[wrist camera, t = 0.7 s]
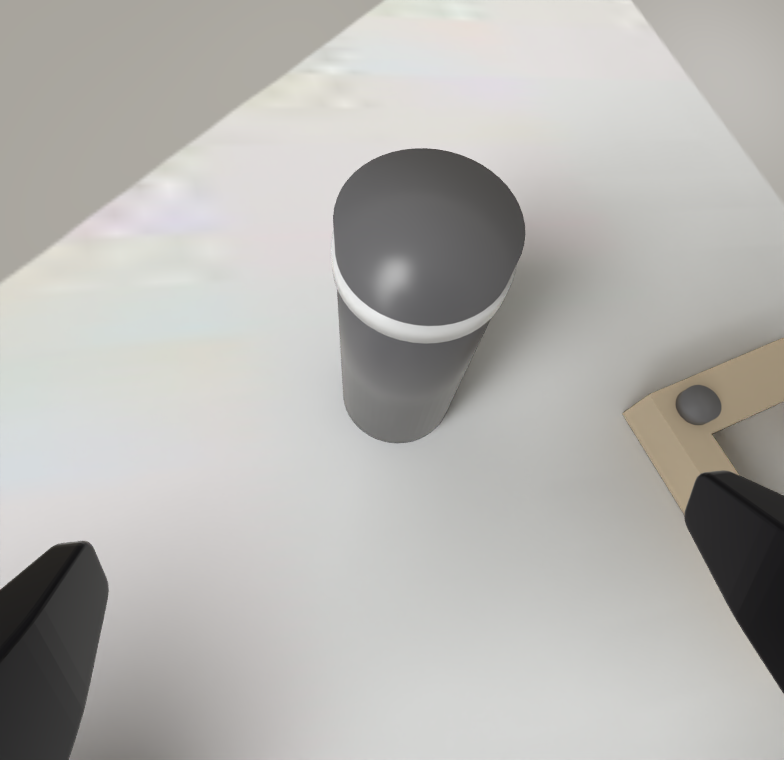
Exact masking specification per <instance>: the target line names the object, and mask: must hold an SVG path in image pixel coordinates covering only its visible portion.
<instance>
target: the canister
mask: <svg viewBox="0 0 784 760" xmlns="http://www.w3.org/2000/svg"><path fill="white" fill-rule="evenodd" d="M333 225H334V230H333V233H332V241H331V255H332V270H333V276H334V281H335V284H336V287H337V296H338V313H339V330H340V348H341V365H342V383H343V398H344V404H345V407H346V410H347V412H348V414H349V416H350V417H351V419H352V420H353V422H354V423H355V424H356V425H357V426H358V427H359V428H360V429H361V430H362V431H363V432H365V433H366V434H368V435H369V436H371V437H373V438H375V439H378V440H381V441H384V442H389V443H406V442H411V441H415V440H418V439H420V438H422V437H424V436H426V435H427V434H429V433H430V432H432V431H433V430H434V429H435V428H436V427H437V426H438V425H439V424H440V422H441V421H442V419H443V418H444V416H445V414H446V412H447V410H448V407H449V405H450V403H451V401H452V399H453V397H454V395H455V393H456V391H457V389H458V386H459V384H460V382H461V380H462V378H463V376H464V374H465V372H466V370H467V367H468V365H469V363H470V361H471V359H472V357H473V355H474V353H475V351H476V349H477V346H478V344H479V342H480V340H481V338H482V336H483V334H484V332H485V330H486V328H487V325H488V323H489V321H490V319H491V318H492V316H493V315H494V314H495V313H496V312H497V310H498V309H499V307H500V306H501V304H502V302H503V300H504V298H505V296H506V294H507V292H508V290H509V288H510V286H511V283H512V281H513V279H514V275H515V271H516V265H517V262H518V260H519V258H520V256H521V254H522V250H523V246H524V240H525V223H524V219H523V214H522V211H521V209H520V206H519V204H518V202H517V200H516V198H515V196H514V195H513V193H512V192H511V191H510V189H509V188H508V186H507V185H506V184H505V183H504V182H503V181H502V180H501V179H500V178H499V177H498V176H496V175H495V174H494V173H493V172H492V171H490V170H489V169H487V168H486V167H484V166H483V165H481V164H479V163H477V162H476V161H474V160H472V159H469V158H467V157H464V156H462V155H459V154H456V153H452V152H448V151H443V150H438V149H427V148H423V149H406V150H400V151H395V152H391V153H388V154H385V155H382V156H380V157H378V158H376V159H373V160H371V161H370V162H368V163H367V164H365V165H363V166H362V167H361V168H359V169H358V170H357V171H356V172H355V173H354V174H353V175H352V176H351V177H350V178H349V179H348V180H347V182H346V183H345V184H344V186H343V187H342V189H341V191H340V193H339V195H338V197H337V200H336V204H335V207H334V215H333Z"/></svg>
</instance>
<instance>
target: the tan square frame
mask: <svg viewBox="0 0 784 760" xmlns="http://www.w3.org/2000/svg"><path fill="white" fill-rule="evenodd" d="M783 401H784V338H781V339H779V340H777V341H774V342H772V343H769V344H767V345H765V346H762V347H760V348H758V349H755V350H753V351H751V352H748V353H746V354H743V355H741V356H739V357H736V358H734V359H732V360H729V361H727V362H725V363H722V364H720V365H717V366H715V367H713V368H710V369H708V370H706V371H703V372H701V373H698V374H696V375H694V376H691V377H689V378H687V379H684V380H682V381H680V382H677V383H675V384H672V385H670V386H668V387H665V388H663V389H661V390H658V391H656V392H653V393H651V394H649V395H648V396H646V397H645V398H643V399H642V400H641V401H639V402H638V403H636V404H635V405H634V406H632V407H631V408H629V409H628V410H626V411H625V412H624V413H622V414H623V416H624V417H625V419H626V421H627V422H628V424H629V425H630V427H631V429H632V430H633V432H634V434H635V435H636V437H637V438H638V440H639V442H640V443H641V445H642V447H643V448H644V450H645V452H646V453H647V455H648V456H649V458H650V460H651V461H652V463H653V465H654V466H655V468H656V469H657V471H658V473H659V474H660V476H661V478H662V479H663V481H664V482H665V484H666V486H667V487H668V489H669V491H670V492H671V494H672V496H673V497H674V499H675V500H676V502H677V504H678V505H679V507H680V509H681V510H682V512H683V513H684V515H685V509H686V506H687V503H688V500H689V497H690V494H691V491H692V488H693V485H694V483H695V480H696V478H697V477H698V476H699V475H700V474H701V473H704V472H712V471H721V470H725V471H730V472H733V473H735V474H737V475H739V474H738V472H737V471H736V469H735V468H734V466H733V465H732V463H731V462H730V460H729V459H728V458H727V456H726V455H725V453H724V452H723V450H722V449H721V447H720V446H719V444H718V443H717V441H716V440H715V438H714V437H713V435H712V434H713V433H715V432H718V431H720V430H722V429H724V428H726V427H729V426H731V425H733V424H735V423H737V422H740V421H742V420H744V419H746V418H748V417H751V416H753V415H755V414H757V413H759V412H761V411H764V410H766V409H768V408H770V407H772V406H775V405H777V404H779V403H781V402H783ZM739 476H740V475H739Z"/></svg>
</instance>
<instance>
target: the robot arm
mask: <svg viewBox="0 0 784 760" xmlns="http://www.w3.org/2000/svg"><path fill="white" fill-rule="evenodd" d="M685 522H686V525H687V528H688V530H689V532H690V534H691V536H692V538H693V540H694V542H695V543H696V545H697V547H698V549H699V551H700V553H701V555H702V557H703V559H704V561H705V563H706V564H707V566H708V568H709V570H710V572H711V574H712V576H713V578H714V580H715V582H716V584H717V585H718V587H719V589H720V591H721V593H722V595H723V597H724V599H725V601H726V603H727V604H728V606H729V608H730V610H731V612H732V613H733V615H734V617H735V619H736V620H737V622H738V624H739V625H740V627H741V628H742V630H743V632H744V633H745V635H746V636H747V638H748V639H749V641H750V643H751V644H752V646H753V647H754V649H755V650H756V652H757V653H758V655H759V656H760V658H761V660H762V661H763V663H764V664H765V666H766V667H767V669H768V670H769V672H770V673H771V675H772V677H773V678H774V680H775V681H776V683H777V684H778V686H779V687H780V689H781V690H782V692H783V694H784V496H783V495H781V494H779V493H777V492H774V491H772V490H770V489H768V488H766V487H763V486H761V485H759V484H757V483H755V482H752V481H750V480H748V479H746V478H744V477H742V476H739V475H737V474H735V473H733V472H730V471H725V470H721V471H712V472H704V473H701V474H700V475H699V476H698V477H697V478H696V480H695V483H694V485H693V488H692V491H691V494H690V497H689V500H688V503H687V506H686V509H685ZM108 591H109V590H108V581H107V578H106V576H105V573H104V571H103V569H102V566H101V564H100V562H99V559H98V557H97V555H96V552H95V550H94V548H93V546H92V545H91V544H90V543H89V542H87V541H78V542H69V543H60V544H57V545H55V546H53V547H51V548H50V549H49V550H47V551H46V552H45V553H44V554H43V555H41V556H40V557H39V558H38V559H37V560H35V561H34V562H33V563H32V564H31V565H29V566H28V567H27V568H26V569H25V570H23V571H22V572H21V573H20V574H19V575H17V576H16V577H15V578H14V579H13V580H11V581H10V582H9V583H8V584H7V585H5V586H4V587H3V588H2V589H1V590H0V760H69V757H70V754H71V751H72V748H73V745H74V742H75V738H76V735H77V732H78V729H79V726H80V722H81V719H82V715H83V712H84V708H85V704H86V700H87V695H88V691H89V686H90V681H91V677H92V672H93V667H94V662H95V657H96V653H97V648H98V643H99V638H100V633H101V629H102V624H103V619H104V614H105V609H106V605H107V600H108Z"/></svg>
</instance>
